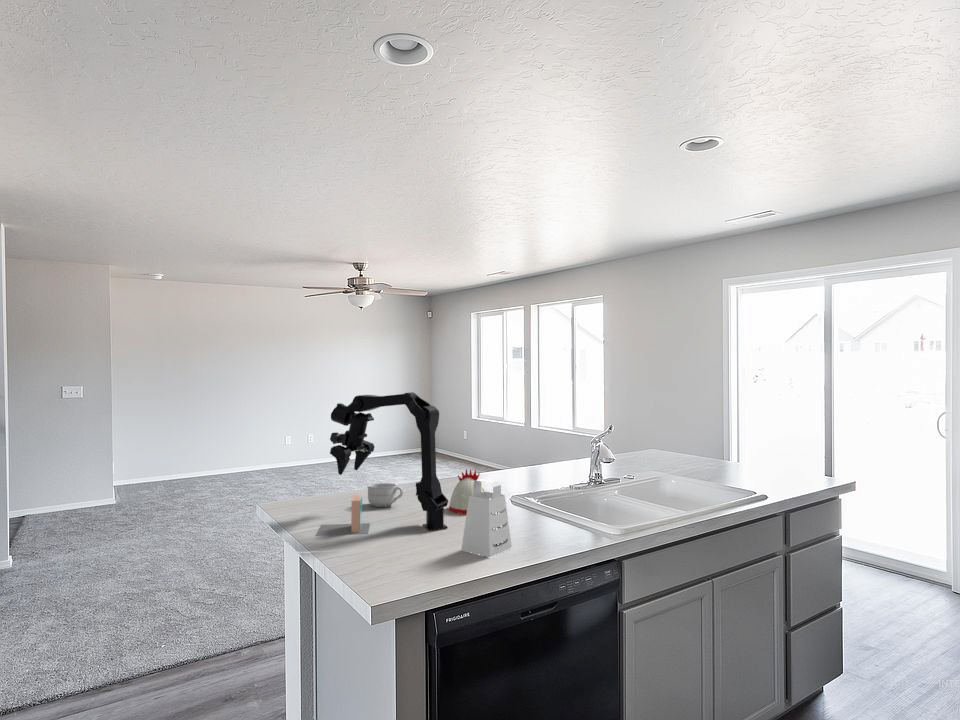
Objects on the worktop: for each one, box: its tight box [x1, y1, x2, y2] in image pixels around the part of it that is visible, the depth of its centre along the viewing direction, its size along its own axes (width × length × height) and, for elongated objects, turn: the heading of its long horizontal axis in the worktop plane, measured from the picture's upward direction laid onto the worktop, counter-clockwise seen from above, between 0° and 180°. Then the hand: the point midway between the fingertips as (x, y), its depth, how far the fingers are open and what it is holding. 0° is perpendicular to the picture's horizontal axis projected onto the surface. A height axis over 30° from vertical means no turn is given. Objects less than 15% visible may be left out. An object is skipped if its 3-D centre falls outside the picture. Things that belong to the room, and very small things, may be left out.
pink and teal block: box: [350, 494, 363, 533], centre depth 184 cm, size 3×8×10 cm, turn 7°
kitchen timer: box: [448, 468, 485, 515], centre depth 211 cm, size 14×14×15 cm
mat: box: [315, 522, 371, 537], centre depth 183 cm, size 16×12×1 cm
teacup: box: [367, 482, 404, 508], centre depth 215 cm, size 14×11×8 cm
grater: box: [460, 478, 513, 558], centre depth 166 cm, size 10×10×20 cm
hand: (347, 472), depth 201 cm, fingers open, 9 cm apart
